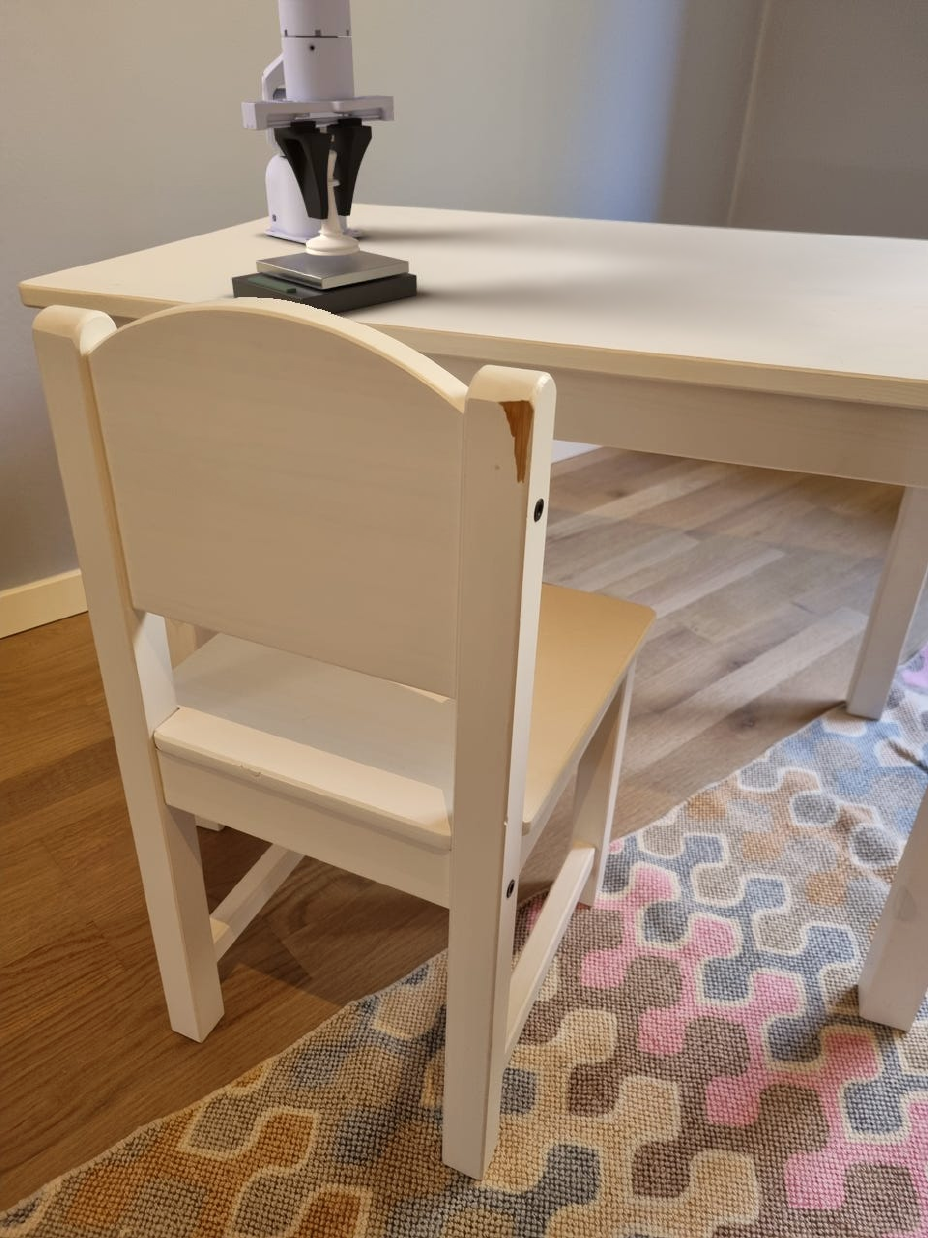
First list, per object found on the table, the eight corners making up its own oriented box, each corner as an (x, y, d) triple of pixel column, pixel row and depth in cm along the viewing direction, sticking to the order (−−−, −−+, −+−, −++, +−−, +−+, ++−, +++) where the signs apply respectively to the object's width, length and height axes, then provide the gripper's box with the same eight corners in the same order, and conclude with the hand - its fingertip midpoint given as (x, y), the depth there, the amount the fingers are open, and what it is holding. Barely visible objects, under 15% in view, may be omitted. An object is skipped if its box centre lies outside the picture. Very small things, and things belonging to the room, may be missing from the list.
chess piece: (350, 257, 82) (341, 130, 76) (297, 255, 83) (285, 129, 77) (366, 245, 86) (359, 124, 80) (316, 243, 87) (305, 123, 81)
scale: (233, 297, 85) (230, 273, 84) (344, 275, 93) (342, 253, 92) (304, 320, 79) (302, 294, 77) (417, 294, 86) (416, 271, 85)
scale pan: (256, 271, 85) (255, 260, 85) (342, 256, 91) (341, 245, 91) (322, 290, 79) (321, 278, 79) (409, 272, 85) (409, 261, 85)
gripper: (270, 37, 69) (288, 232, 76) (415, 37, 77) (418, 212, 85) (219, 36, 73) (240, 221, 80) (361, 36, 82) (369, 203, 89)
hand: (329, 216), depth 83 cm, fingers closed on chess piece
